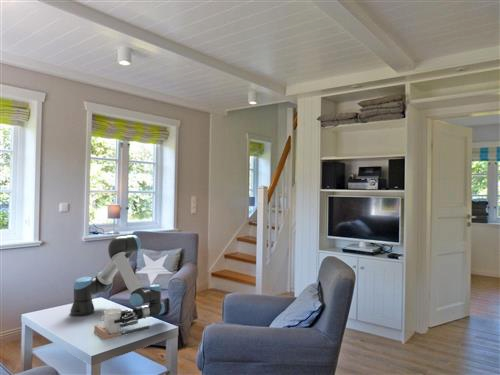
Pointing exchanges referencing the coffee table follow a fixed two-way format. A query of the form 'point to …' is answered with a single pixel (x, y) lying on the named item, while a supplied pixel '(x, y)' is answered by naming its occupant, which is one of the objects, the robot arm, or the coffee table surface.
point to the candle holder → (112, 314)
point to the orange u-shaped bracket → (104, 332)
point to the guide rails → (132, 329)
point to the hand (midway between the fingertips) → (105, 320)
